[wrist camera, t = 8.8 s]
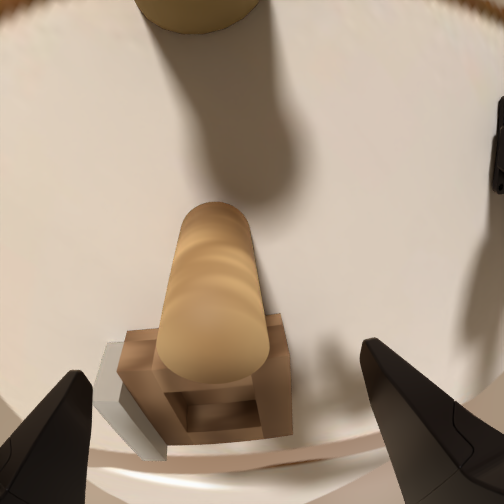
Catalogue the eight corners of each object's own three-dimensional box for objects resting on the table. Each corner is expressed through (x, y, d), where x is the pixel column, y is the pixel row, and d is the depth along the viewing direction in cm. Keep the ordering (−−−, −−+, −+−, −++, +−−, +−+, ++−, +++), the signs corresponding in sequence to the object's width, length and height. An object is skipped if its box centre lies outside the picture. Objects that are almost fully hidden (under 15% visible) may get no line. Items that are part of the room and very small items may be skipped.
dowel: (245, 196, 16) (264, 300, 9) (253, 258, 18) (273, 377, 11) (174, 207, 16) (141, 315, 9) (188, 267, 18) (174, 387, 11)
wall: (132, 341, 20) (118, 401, 16) (170, 411, 25) (166, 461, 21) (106, 342, 20) (89, 400, 16) (148, 411, 25) (142, 460, 21)
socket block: (280, 313, 20) (289, 355, 17) (286, 399, 25) (292, 434, 22) (127, 331, 20) (116, 371, 17) (170, 411, 25) (167, 445, 22)
